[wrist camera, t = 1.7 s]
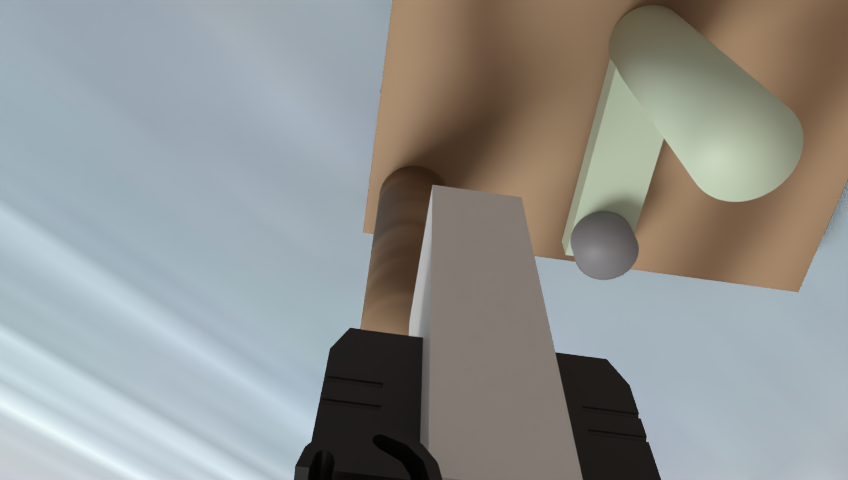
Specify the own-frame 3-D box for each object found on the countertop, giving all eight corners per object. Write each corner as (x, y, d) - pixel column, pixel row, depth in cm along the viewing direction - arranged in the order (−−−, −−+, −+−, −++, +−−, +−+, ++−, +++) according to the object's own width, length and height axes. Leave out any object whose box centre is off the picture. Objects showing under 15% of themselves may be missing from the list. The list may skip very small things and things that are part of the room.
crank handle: (621, 256, 35) (692, 424, 26) (555, 246, 35) (601, 412, 25) (697, 11, 30) (821, 105, 21) (620, -1, 30) (708, 88, 20)
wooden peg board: (367, 207, 37) (335, 392, 25) (450, -446, 26) (465, -660, 14) (777, 264, 39) (930, 466, 27) (1027, -336, 27) (1487, -449, 15)
